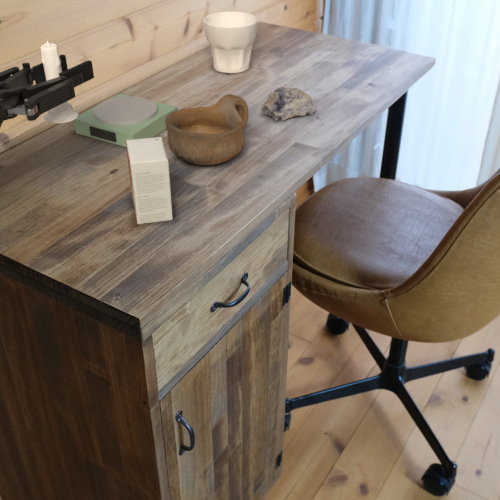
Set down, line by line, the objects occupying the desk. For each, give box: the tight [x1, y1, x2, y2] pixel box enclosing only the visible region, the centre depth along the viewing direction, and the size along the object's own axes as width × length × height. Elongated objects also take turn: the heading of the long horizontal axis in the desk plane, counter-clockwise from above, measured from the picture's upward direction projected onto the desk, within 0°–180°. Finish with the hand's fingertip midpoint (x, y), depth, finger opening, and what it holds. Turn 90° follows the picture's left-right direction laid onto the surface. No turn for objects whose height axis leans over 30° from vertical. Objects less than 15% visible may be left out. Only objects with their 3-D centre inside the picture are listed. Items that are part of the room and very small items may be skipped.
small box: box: [125, 136, 174, 225], centre depth 98 cm, size 8×6×10 cm
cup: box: [202, 10, 259, 74], centre depth 149 cm, size 12×12×11 cm
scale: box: [73, 93, 178, 148], centre depth 124 cm, size 14×14×4 cm
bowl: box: [165, 93, 249, 166], centre depth 115 cm, size 18×14×10 cm
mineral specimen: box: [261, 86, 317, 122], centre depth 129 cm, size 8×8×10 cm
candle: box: [40, 40, 80, 124], centre depth 99 cm, size 5×5×12 cm
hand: (77, 66), depth 103 cm, fingers closed on candle, 5 cm apart
